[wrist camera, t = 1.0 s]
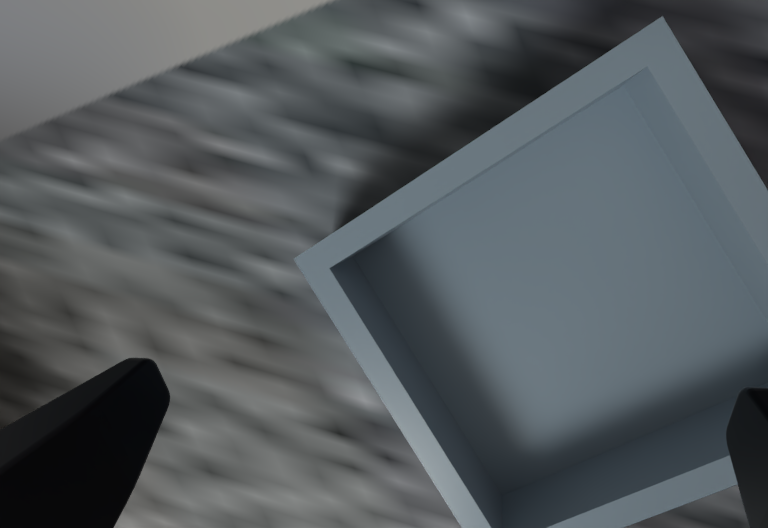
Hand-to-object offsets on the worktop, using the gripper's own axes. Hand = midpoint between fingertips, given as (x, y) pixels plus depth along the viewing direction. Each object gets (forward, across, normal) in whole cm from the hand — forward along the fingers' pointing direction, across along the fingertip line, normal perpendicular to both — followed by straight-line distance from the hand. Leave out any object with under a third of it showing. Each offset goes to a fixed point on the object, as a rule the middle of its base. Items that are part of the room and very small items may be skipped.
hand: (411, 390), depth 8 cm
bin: (+12, -4, +7) cm, 14 cm away
